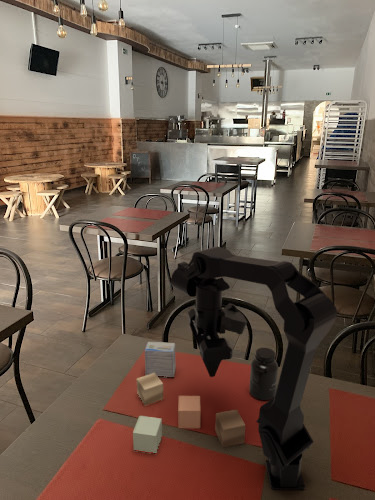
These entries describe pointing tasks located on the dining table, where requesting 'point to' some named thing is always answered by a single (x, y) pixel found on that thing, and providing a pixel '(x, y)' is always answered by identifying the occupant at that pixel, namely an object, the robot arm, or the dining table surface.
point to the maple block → (150, 388)
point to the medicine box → (160, 359)
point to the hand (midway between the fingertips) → (207, 364)
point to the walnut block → (230, 428)
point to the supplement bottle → (263, 374)
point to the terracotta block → (189, 412)
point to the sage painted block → (147, 434)
